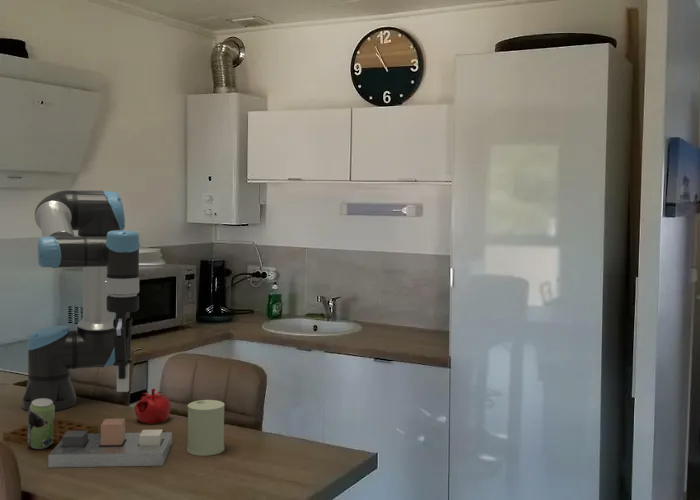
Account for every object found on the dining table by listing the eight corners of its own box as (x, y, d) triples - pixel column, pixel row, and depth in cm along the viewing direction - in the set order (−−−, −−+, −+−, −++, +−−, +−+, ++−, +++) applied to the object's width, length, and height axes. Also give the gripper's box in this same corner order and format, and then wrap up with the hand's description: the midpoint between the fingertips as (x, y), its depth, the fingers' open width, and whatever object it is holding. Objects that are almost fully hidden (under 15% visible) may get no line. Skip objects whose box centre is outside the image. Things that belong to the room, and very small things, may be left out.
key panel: (67, 445, 193) (67, 433, 192) (171, 443, 195) (171, 432, 195) (48, 467, 177) (48, 454, 177) (163, 465, 179) (163, 453, 179)
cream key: (142, 449, 189) (142, 429, 189) (162, 449, 190) (162, 429, 189) (139, 456, 184) (139, 435, 184) (159, 455, 185) (159, 435, 184)
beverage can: (45, 440, 196) (45, 394, 195) (60, 447, 191) (60, 400, 190) (21, 446, 191) (21, 399, 190) (36, 453, 186) (36, 405, 186)
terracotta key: (105, 438, 188) (105, 418, 188) (125, 438, 188) (125, 418, 188) (100, 445, 183) (100, 424, 183) (121, 444, 184) (121, 424, 183)
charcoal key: (67, 450, 187) (67, 430, 187) (87, 450, 188) (87, 430, 187) (62, 457, 182) (62, 436, 182) (83, 457, 183) (82, 436, 183)
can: (210, 441, 198) (211, 395, 197) (231, 450, 191) (232, 403, 190) (179, 449, 191) (180, 402, 190) (200, 458, 185) (200, 409, 184)
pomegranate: (169, 415, 222) (169, 383, 221) (172, 424, 212) (173, 391, 212) (133, 417, 218) (134, 384, 218) (135, 426, 209) (135, 393, 209)
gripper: (111, 291, 190) (111, 384, 192) (101, 298, 177) (101, 398, 179) (142, 291, 191) (142, 384, 193) (134, 298, 178) (134, 398, 180)
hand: (122, 390), depth 186 cm, fingers closed
